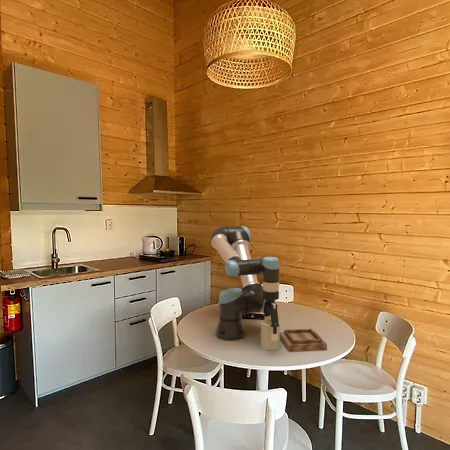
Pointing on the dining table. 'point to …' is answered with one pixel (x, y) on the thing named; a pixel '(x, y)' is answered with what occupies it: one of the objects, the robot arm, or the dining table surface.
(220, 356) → the dining table surface
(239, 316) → the robot arm
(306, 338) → the stand
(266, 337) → the can
